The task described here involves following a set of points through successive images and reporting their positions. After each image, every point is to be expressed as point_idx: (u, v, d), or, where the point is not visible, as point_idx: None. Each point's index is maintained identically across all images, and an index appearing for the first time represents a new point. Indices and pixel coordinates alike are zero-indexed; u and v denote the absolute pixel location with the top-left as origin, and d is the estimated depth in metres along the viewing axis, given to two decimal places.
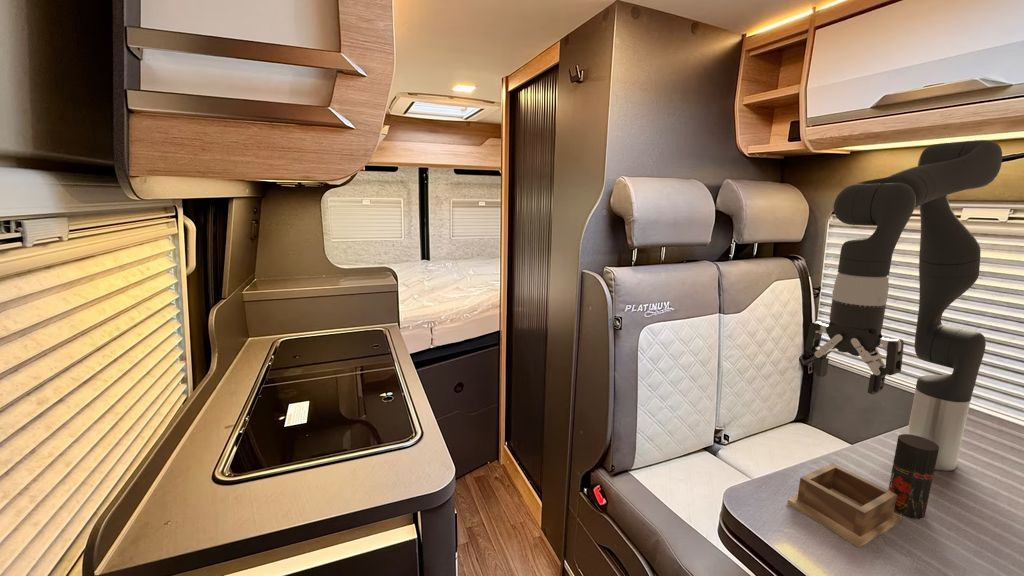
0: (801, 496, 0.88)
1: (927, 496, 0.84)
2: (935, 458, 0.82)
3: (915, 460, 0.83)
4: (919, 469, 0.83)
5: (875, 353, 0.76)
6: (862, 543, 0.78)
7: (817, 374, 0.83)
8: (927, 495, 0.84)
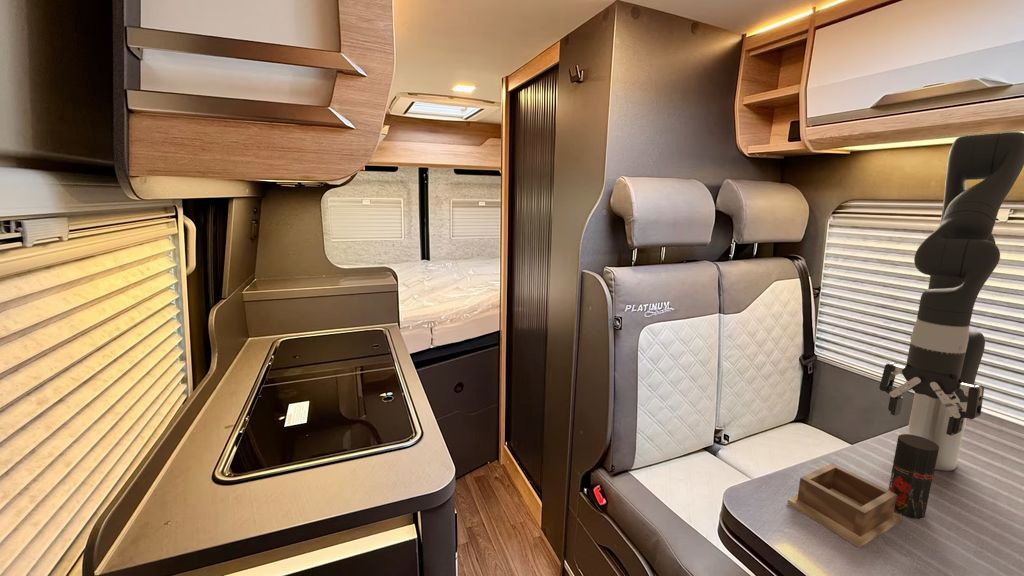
0: (801, 496, 0.88)
1: (927, 496, 0.84)
2: (935, 458, 0.82)
3: (915, 460, 0.83)
4: (919, 469, 0.83)
5: (953, 397, 0.80)
6: (862, 543, 0.78)
7: (892, 413, 0.87)
8: (927, 495, 0.84)
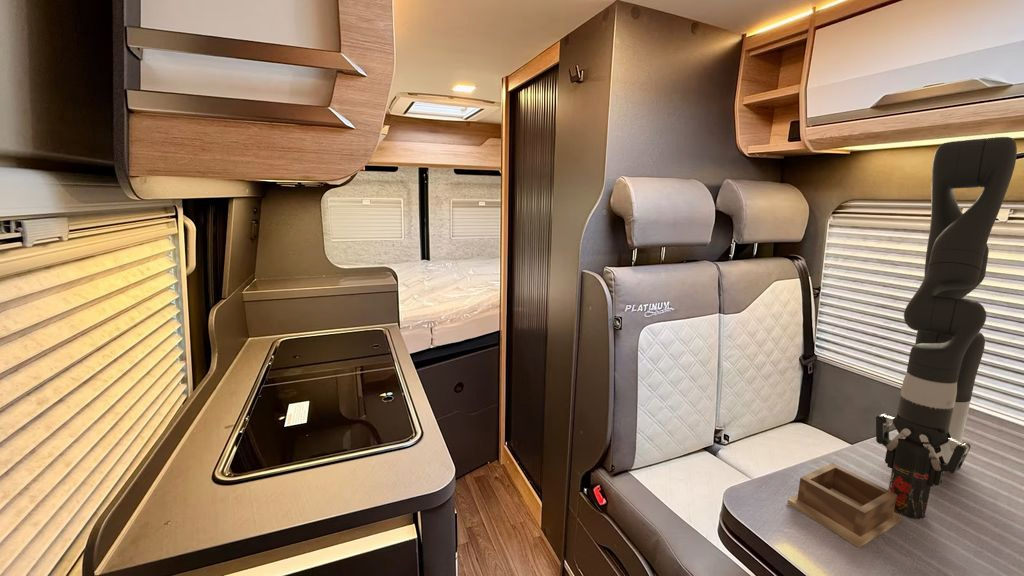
0: (801, 496, 0.88)
1: (927, 496, 0.84)
2: None
3: (915, 460, 0.83)
4: (919, 469, 0.83)
5: None
6: (862, 543, 0.78)
7: (888, 465, 0.89)
8: (927, 495, 0.84)
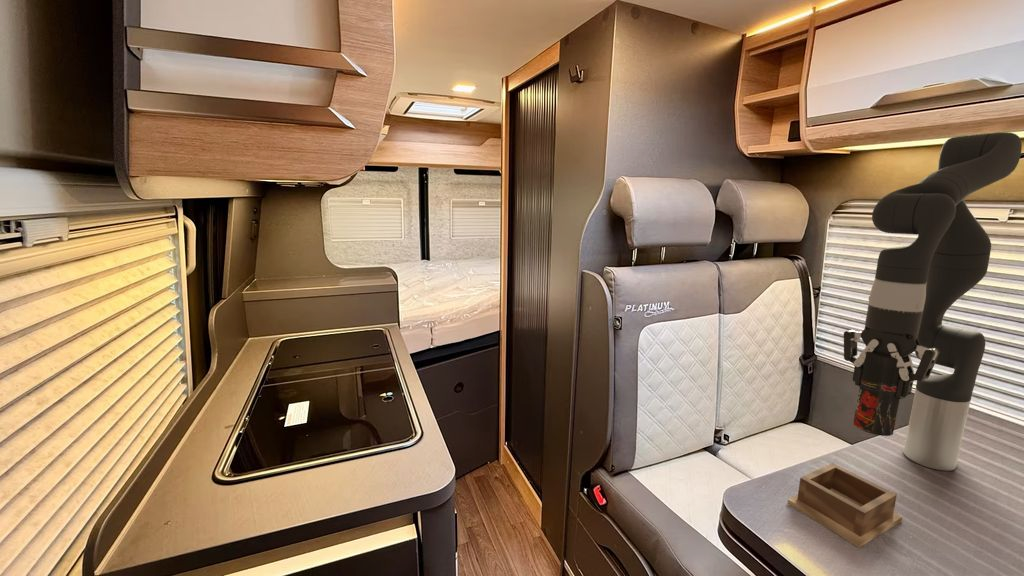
0: (801, 496, 0.88)
1: (895, 411, 0.79)
2: None
3: (883, 371, 0.78)
4: (887, 381, 0.78)
5: (907, 360, 0.78)
6: (862, 543, 0.78)
7: (856, 383, 0.84)
8: (895, 410, 0.79)
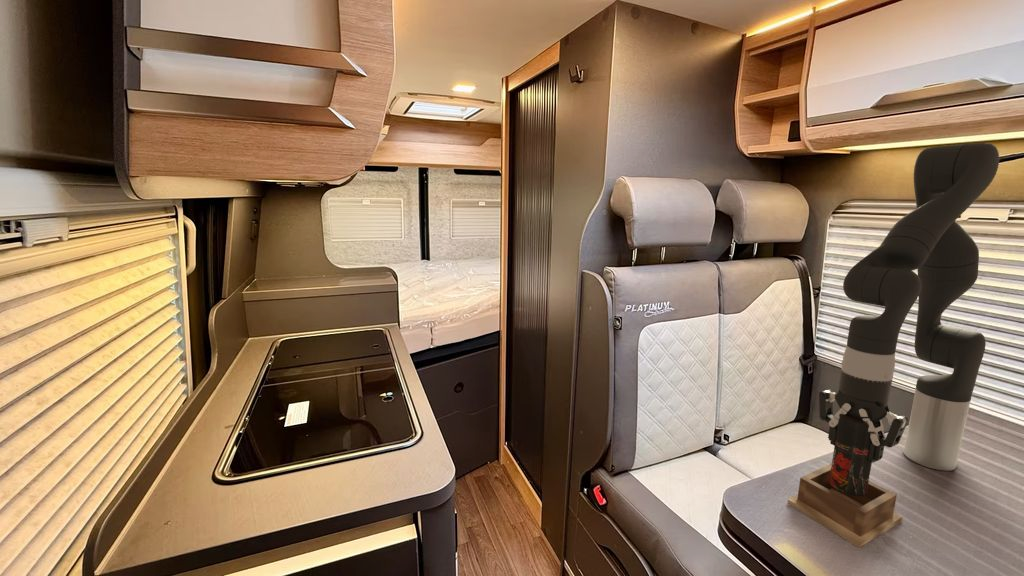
0: (801, 496, 0.88)
1: (867, 472, 0.82)
2: None
3: (854, 436, 0.81)
4: (858, 444, 0.81)
5: None
6: (862, 543, 0.78)
7: (831, 442, 0.87)
8: (867, 471, 0.82)
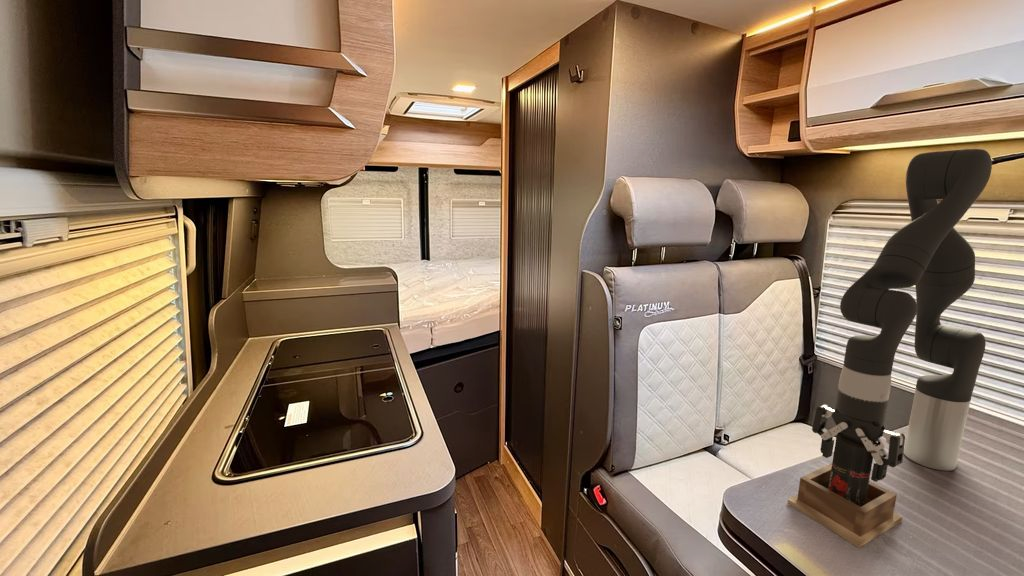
0: (801, 496, 0.88)
1: (864, 495, 0.83)
2: (871, 456, 0.81)
3: (851, 459, 0.82)
4: (855, 468, 0.82)
5: (878, 443, 0.81)
6: (862, 543, 0.78)
7: (823, 455, 0.88)
8: (864, 494, 0.83)
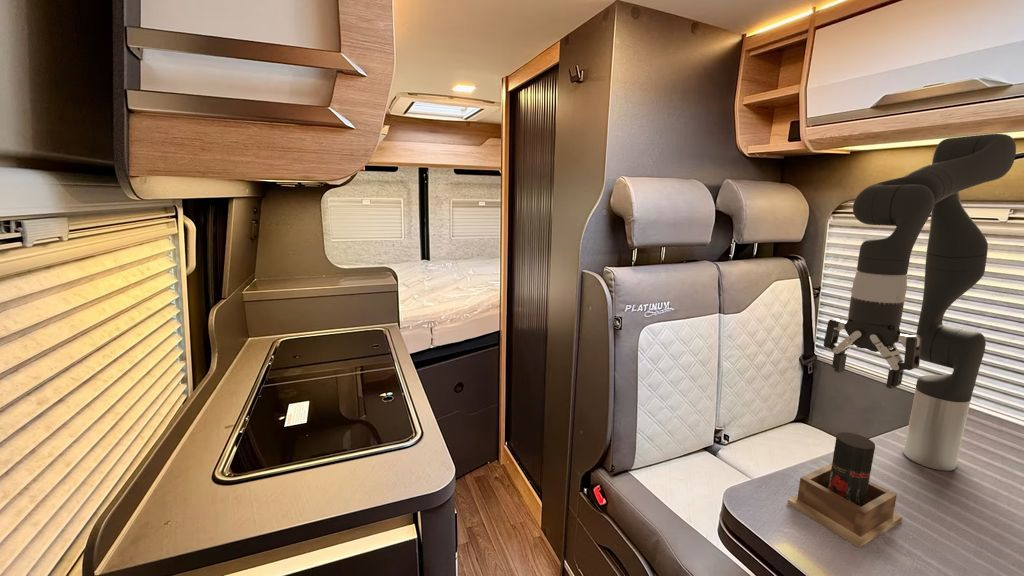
0: (801, 496, 0.88)
1: (864, 495, 0.83)
2: (871, 456, 0.81)
3: (851, 459, 0.82)
4: (855, 468, 0.82)
5: (893, 349, 0.78)
6: (862, 543, 0.78)
7: (835, 370, 0.85)
8: (864, 494, 0.83)
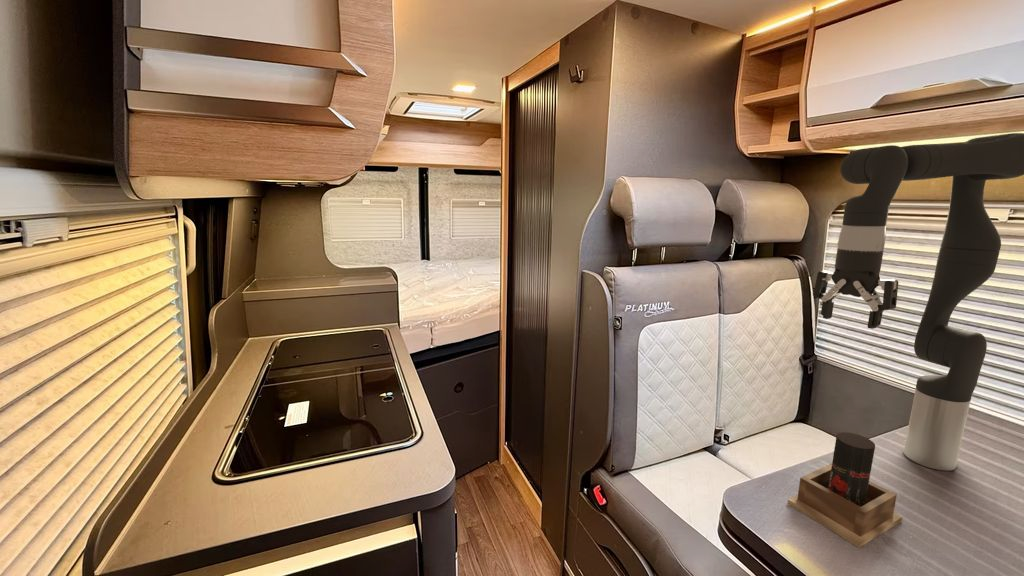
0: (801, 496, 0.88)
1: (864, 495, 0.83)
2: (871, 456, 0.81)
3: (851, 459, 0.82)
4: (855, 468, 0.82)
5: (874, 294, 0.88)
6: (862, 543, 0.78)
7: (823, 316, 0.95)
8: (864, 494, 0.83)
